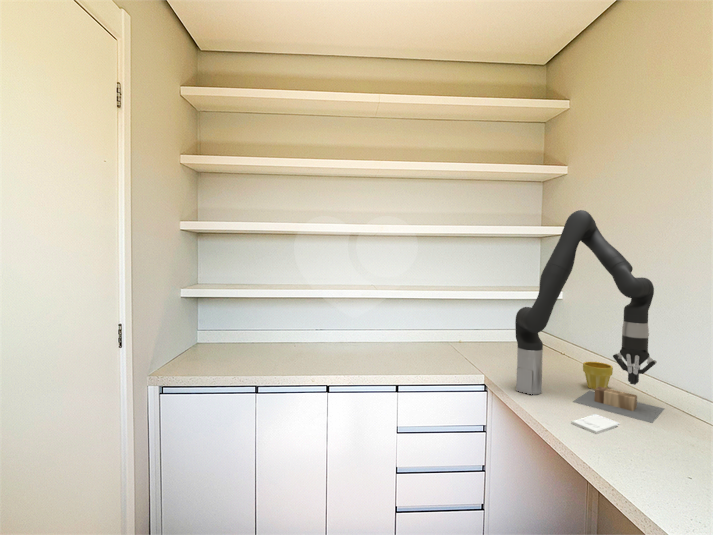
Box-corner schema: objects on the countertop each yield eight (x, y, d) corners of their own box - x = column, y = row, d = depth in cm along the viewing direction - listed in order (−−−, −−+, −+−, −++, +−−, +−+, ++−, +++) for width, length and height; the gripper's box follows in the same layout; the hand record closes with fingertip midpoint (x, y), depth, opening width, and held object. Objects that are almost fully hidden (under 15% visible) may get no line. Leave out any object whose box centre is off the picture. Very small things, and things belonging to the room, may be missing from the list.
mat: (652, 425, 128) (652, 423, 128) (572, 403, 146) (572, 401, 146) (664, 410, 140) (664, 408, 140) (589, 391, 158) (589, 390, 158)
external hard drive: (619, 428, 127) (596, 436, 121) (594, 418, 134) (570, 425, 129) (620, 423, 127) (596, 430, 121) (594, 413, 134) (571, 420, 128)
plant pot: (581, 382, 169) (582, 359, 168) (609, 386, 164) (610, 363, 164) (583, 390, 160) (584, 366, 159) (613, 394, 155) (614, 369, 155)
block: (633, 398, 137) (594, 389, 146) (633, 411, 137) (594, 401, 146) (637, 395, 140) (598, 386, 149) (636, 407, 140) (598, 398, 149)
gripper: (609, 333, 141) (608, 381, 141) (655, 339, 131) (653, 391, 132) (616, 330, 146) (614, 377, 146) (661, 336, 136) (659, 386, 137)
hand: (633, 383), depth 139 cm, fingers closed
